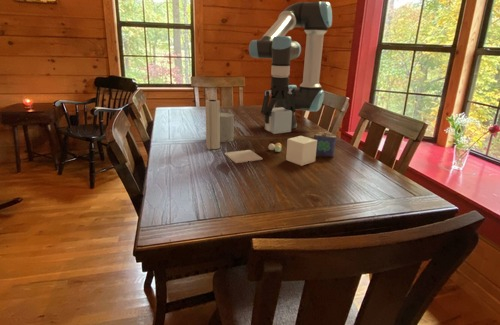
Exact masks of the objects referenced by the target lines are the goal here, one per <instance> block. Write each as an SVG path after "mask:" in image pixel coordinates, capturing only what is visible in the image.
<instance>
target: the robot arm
mask: <svg viewBox="0 0 500 325" xmlns="http://www.w3.org/2000/svg"><path fill="white" fill-rule="evenodd" d="M332 25H333V10H332V6H331V3H330V2H329V1H323V0H322V1H298V2H295V3H293V4H291V5H288V6H287V7H286V8H285V9H283V10H282V11H281V12H280V14H279V15H278V16H277V20H276V21H275V22H274V23H273V24H272V25H271V26H270V28H269V29H268V30H267V31H265V33H264V34H263V35H262V37H260V39H252V40H250V42H249V45H248V52H249V53H248V54H249V56H250V57H251V58H255V59H267V60H269V59H270V60H271V72H270V74H271V76H270V89H269V90H264V91H263V95H264V96H263V100H262V105H261V106H262V107H261V111H260V114H261V115H263V116H264V124H265V123H266V129H265V130H266V131H267V132H270V131H271V116H270V114H271V111H272V109H273V108H279V107H283V108H285V109H288V110H291V111H292V123H291V130H293V129H296V128H297V126H298V122H297V118H296V111H306V112H318V111H319V110H320V109H321V108H322V104H323V102H324V98H325V91H324V89H322V85H321V84H320V76H321V67H322V66H321V65H322V57H323V55H322V54H323V48H324V47H323V45H324V36H325V34H326V33H327V32H328V28H331V27H332ZM295 28H303V30H304V33H305V34H306V39H305V40H306V41H305V50H304V62H303V63H304V65H303V73H302V74H303V76H302V82H301V83H300V84H299V86H298V87H297V85H296V84H290V77H289V76H290V75H291V74H290V72H291V60H293V61H294V60H295V59H297V58H299V57H300V55H301V52H302V46H301V44H300V43H299V42H298V41H295V40H292V36H289V35H287V33H288V32H289V31H291V30H293V29H295ZM286 35H287V36H286ZM270 96H271V97H270Z"/></svg>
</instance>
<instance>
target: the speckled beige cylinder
mask: <svg viewBox="0 0 500 325" xmlns="http://www.w3.org/2000/svg"><path fill="white" fill-rule="evenodd" d="M234 115H235V114H234V113H231V112H220V143H230V141H231V142H234V128H235V127H234V124H235V122H234V121H235V120H234V119H235V116H234Z"/></svg>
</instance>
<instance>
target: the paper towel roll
mask: <svg viewBox="0 0 500 325" xmlns="http://www.w3.org/2000/svg"><path fill="white" fill-rule="evenodd" d="M220 104H221V101H220V100H219V99H206V100H205V134H206V135H205V136H206V137H205V140H206V149H207V150H209V151H211V150H218V149H220V148H221V142H220V113H221V112H220V110H221V109H220V107H221V106H220Z"/></svg>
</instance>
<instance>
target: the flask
mask: <svg viewBox="0 0 500 325" xmlns="http://www.w3.org/2000/svg"><path fill="white" fill-rule="evenodd" d="M313 139H314V140H317V149H316V157H325V158H334V157H335V152H336V142H337V136H336V135H328V131H324V132H323V133H318V134H317V133H315V134H314V137H313Z"/></svg>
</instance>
